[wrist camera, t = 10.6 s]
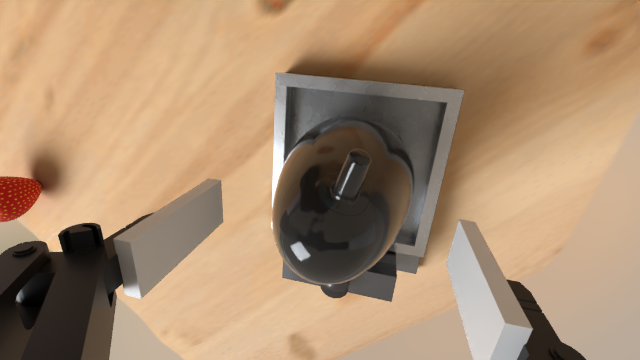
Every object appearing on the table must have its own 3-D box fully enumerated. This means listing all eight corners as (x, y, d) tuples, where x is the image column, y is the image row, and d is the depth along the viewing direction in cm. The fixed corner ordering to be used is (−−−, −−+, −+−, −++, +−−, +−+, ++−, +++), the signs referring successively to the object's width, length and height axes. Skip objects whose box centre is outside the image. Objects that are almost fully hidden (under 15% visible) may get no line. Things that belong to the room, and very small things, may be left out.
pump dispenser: (434, 135, 25) (483, 212, 11) (382, 231, 29) (371, 374, 15) (324, 89, 26) (244, 110, 12) (288, 189, 30) (198, 290, 16)
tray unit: (285, 72, 27) (251, 72, 21) (457, 88, 25) (481, 94, 18) (279, 240, 34) (251, 282, 27) (415, 268, 31) (421, 320, 25)
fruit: (60, 187, 39) (-18, 215, 31) (48, 212, 41) (-27, 243, 33) (27, 159, 38) (-60, 180, 31) (17, 185, 40) (-67, 210, 33)
